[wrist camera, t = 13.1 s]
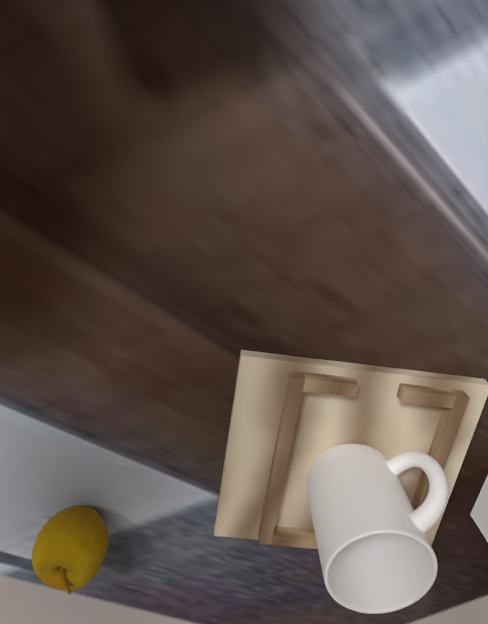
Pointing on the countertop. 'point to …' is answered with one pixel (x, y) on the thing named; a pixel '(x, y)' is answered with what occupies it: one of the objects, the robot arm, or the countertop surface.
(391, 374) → the board
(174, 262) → the countertop surface
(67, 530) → the apple
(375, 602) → the mug
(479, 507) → the robot arm
